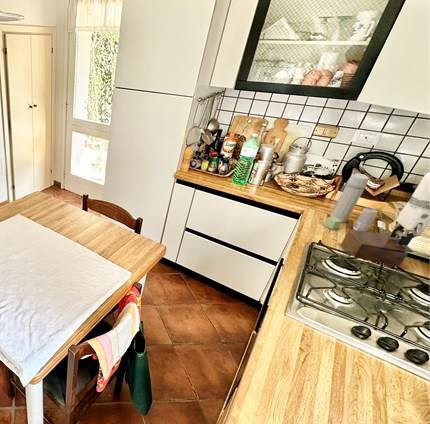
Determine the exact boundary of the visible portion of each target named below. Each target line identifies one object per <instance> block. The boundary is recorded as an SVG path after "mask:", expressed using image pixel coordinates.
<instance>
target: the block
mask: <svg viewBox="0 0 430 424" xmlns="http://www.w3.org/2000/svg"><path fill="white" fill-rule="evenodd" d="M342 223H343V222H342V221H341V220H339V219H337V218H335V217H330V216H329V217H327V218H326V220H325V221H324V223H323V226H325V227H327V228H329V229H331V230H336V229H337V230H338V229H339V228H340V227H341V224H342Z"/></svg>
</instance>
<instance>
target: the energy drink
mask: <svg viewBox="0 0 430 424" xmlns="http://www.w3.org/2000/svg"><path fill="white" fill-rule="evenodd" d="M378 214H379V210H378V209H375V208H373V207H364V208H363V209H362V211H361V213H360V214H359V216H358V218H357V219H356V222H355V223H354V225H353V227H352V230H357V231H365V232H368V230H369V228H370V227H371V225H372V224H373V222H374V221H375V219H376V217H377V215H378Z"/></svg>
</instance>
